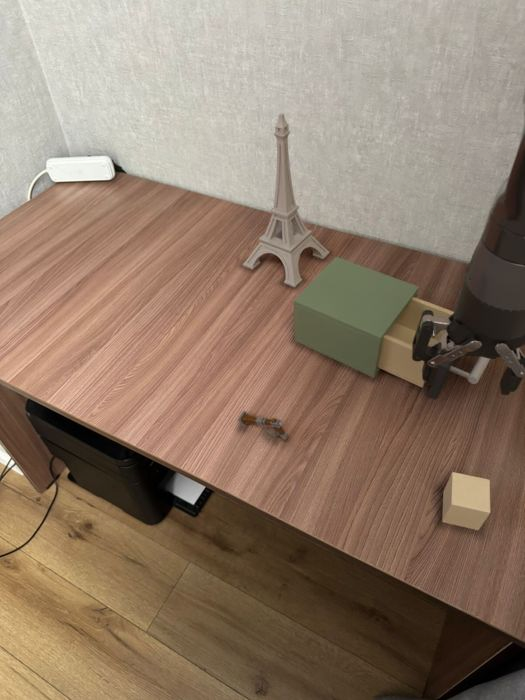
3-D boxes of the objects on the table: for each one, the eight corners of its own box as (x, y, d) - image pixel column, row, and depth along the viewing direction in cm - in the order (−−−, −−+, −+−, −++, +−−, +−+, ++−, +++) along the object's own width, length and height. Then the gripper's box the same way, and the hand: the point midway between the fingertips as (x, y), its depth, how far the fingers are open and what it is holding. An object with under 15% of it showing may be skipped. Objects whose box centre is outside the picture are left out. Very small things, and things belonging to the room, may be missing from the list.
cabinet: (409, 328, 87) (419, 286, 80) (374, 378, 80) (380, 337, 73) (333, 297, 94) (335, 256, 87) (294, 341, 87) (293, 300, 80)
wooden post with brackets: (289, 445, 72) (277, 424, 69) (249, 437, 77) (236, 418, 74) (295, 435, 73) (283, 415, 70) (255, 428, 78) (242, 409, 75)
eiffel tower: (242, 265, 103) (225, 121, 80) (278, 234, 109) (272, 93, 87) (294, 287, 97) (291, 138, 74) (329, 252, 103) (336, 107, 81)
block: (478, 498, 65) (489, 479, 61) (478, 530, 62) (490, 512, 58) (443, 490, 66) (452, 471, 62) (442, 522, 64) (451, 504, 59)
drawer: (491, 359, 80) (506, 326, 74) (463, 412, 73) (476, 380, 68) (386, 317, 88) (392, 284, 82) (352, 361, 82) (356, 328, 76)
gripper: (430, 299, 45) (404, 401, 57) (598, 315, 43) (534, 418, 55) (430, 251, 50) (406, 354, 62) (581, 262, 47) (525, 368, 60)
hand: (466, 384), depth 58 cm, fingers open, 8 cm apart
